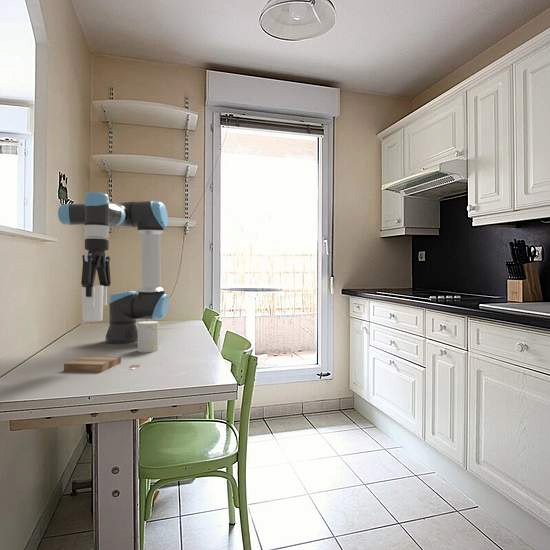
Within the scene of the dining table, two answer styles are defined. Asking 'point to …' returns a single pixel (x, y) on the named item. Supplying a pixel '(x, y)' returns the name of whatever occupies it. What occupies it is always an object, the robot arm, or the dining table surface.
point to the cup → (148, 336)
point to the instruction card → (131, 367)
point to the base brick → (92, 364)
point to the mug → (93, 312)
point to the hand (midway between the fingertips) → (96, 305)
